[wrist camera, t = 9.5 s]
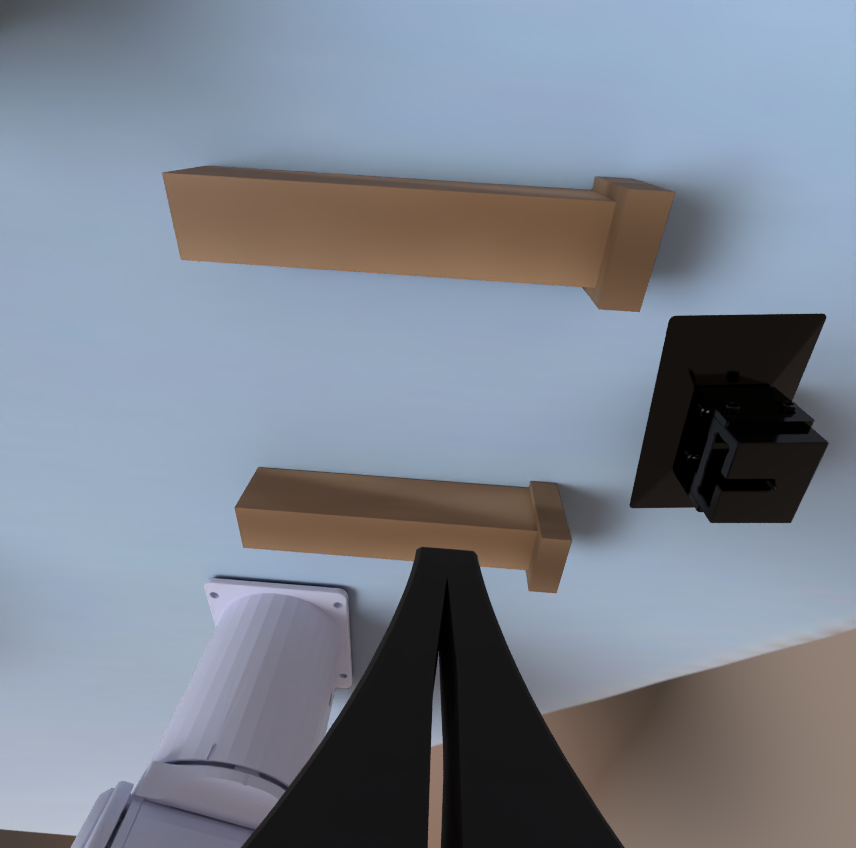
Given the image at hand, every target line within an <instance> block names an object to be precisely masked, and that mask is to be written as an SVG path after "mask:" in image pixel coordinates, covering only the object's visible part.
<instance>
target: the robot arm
mask: <svg viewBox="0 0 856 848" xmlns="http://www.w3.org/2000/svg"><path fill="white" fill-rule="evenodd" d="M204 589H205V592H206V595H207V599H208V602H209V605H210V609H211V612H212V616H213V619H214V622H215V626H216V628H215V630H214V633H213V635H212V637H211V639H210V641H209V643H208V645H207V647H206V649H205V651H204V653H203V655H202V657H201V659H200V661H199V663H198V666H197V668H196V670H195V672H194V674H193V676H192V678H191V680H190V682H189V684H188V686H187V688H186V690H185V692H184V694H183V696H182V698H181V701H180V703H179V705H178V707H177V709H176V711H175V713H174V715H173V717H172V719H171V721H170V723H169V725H168V727H167V729H166V731H165V734H164V736H163V738H162V740H161V742H160V744H159V746H158V748H157V750H156V752H155V754H154V756H153V758H152V760H151V762H150V764H149V765H148V767H147V769H146V771H145V772H144V774H143V776H142V777H141V779H140V781H139V782H138V784H137V786H136V787H135V789H134V791H133V792H132V794H130V793H131V791H132V788H133V786H134V784H132V783H129V782H126V781H121V782H119V783H118V784H117V785H116V787H115V788H111V789H109V790H107V791H106V792H104V793H102V794H101V795H100V796H99V797H98V799H97V800H96V802H95V804H94V806H93V808H92V809H91V811H90V813H89V815H88V817H87V819H86V820H85V822H84V824H83V826H82V828H81V830H80V831H79V833H78V835H77V837H76V839H75V841H74V843H73V844H72V846H71V848H428V816H429V815H428V814H429V783H430V754H431V726H432V700H433V690H434V682H435V675H436V667H437V660H438V652H439V664H440V689H441V712H442V736H443V803H442V833H441V848H624V846H623V845H622V843H621V842H620V841H619V839H618V838H617V836H616V835H615V833H614V832H613V830H612V829H611V827H610V826H609V825H608V823H607V822H606V820H605V819H604V817H603V816H602V814H601V813H600V811H599V810H598V808H597V807H596V805H595V803H594V802H593V800H592V799H591V797H590V796H589V794H588V792H587V791H586V789H585V788H584V786H583V784H582V783H581V781H580V780H579V778H578V777H577V775H576V773H575V772H574V770H573V769H572V767H571V766H570V764H569V763H568V761H567V759H566V758H565V756H564V754H563V753H562V751H561V749H560V747H559V746H558V744H557V742H556V740H555V739H554V737H553V735H552V734H551V732H550V730H549V728H548V727H547V725H546V723H545V721H544V719H543V717H542V715H541V714H540V712H539V710H538V708H537V706H536V704H535V702H534V700H533V698H532V697H531V695H530V693H529V691H528V689H527V687H526V685H525V683H524V681H523V678H522V676H521V674H520V672H519V670H518V668H517V666H516V663H515V661H514V659H513V657H512V655H511V652H510V650H509V648H508V646H507V643H506V641H505V638H504V636H503V633H502V631H501V628H500V626H499V624H498V621H497V619H496V616H495V613H494V611H493V608H492V605H491V602H490V599H489V596H488V593H487V590H486V587H485V584H484V581H483V577H482V574H481V570H480V565H479V561H478V555H477V554H476V553H475V552H474V551H469V550H457V549H444V548H432V547H420V548H418V549H417V550H416V554H415V559H414V563H413V567H412V570H411V574H410V577H409V579H408V582H407V585H406V588H405V590H404V593H403V595H402V598H401V600H400V602H399V605H398V607H397V609H396V612H395V614H394V616H393V618H392V621H391V623H390V625H389V627H388V629H387V631H386V633H385V635H384V637H383V639H382V641H381V643H380V645H379V647H378V649H377V651H376V653H375V655H374V656H373V658H372V660H371V662H370V664H369V666H368V668H367V669H366V671H365V673H364V675H363V676H362V678H361V680H360V682H359V683H358V685H357V687H356V688H355V690H354V692H353V693H352V695H351V697H350V698H349V700H348V702H347V703H346V705H345V706H344V708H343V710H342V711H341V713H340V714H339V716H338V717H337V719H336V720H335V722H334V723H333V725H332V726H331V728H330V729H329V731H328V732H327V734H326V730H327V725H328V720H329V716H330V711H331V707H332V702H333V698H334V693H335V689H336V688H343V689H347V688H350V687H351V686H352V681H353V678H352V660H351V642H350V625H349V607H348V594H347V592H346V591H345V590H343V589H340V588H329V587H317V586H304V585H292V584H280V583H267V582H255V581H242V580H230V579H218V578H211V579H208V580H207V582H206V584H205V585H204ZM325 734H326V735H325Z"/></svg>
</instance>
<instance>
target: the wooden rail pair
mask: <svg viewBox="0 0 856 848" xmlns="http://www.w3.org/2000/svg"><path fill="white" fill-rule="evenodd" d="M162 175H163V179H164V184H165V189H166V193H167V198H168V202H169V207H170V212H171V216H172V221H173V226H174V230H175V235H176V239H177V244H178V249H179V253H180V258H181V260H191V261H206V262H220V263H235V264H250V265H265V266H279V267H294V268H309V269H324V270H339V271H353V272H368V273H383V274H398V275H412V276H427V277H442V278H457V279H472V280H486V281H501V282H516V283H531V284H546V285H560V286H575V287H582V288H583V289H584V290H585V292H586V293H587V294H588V296H589V297H590V298H591V300H592V301H593V302H594V304H595V305H596V306H597V307H598V309H603V310H618V311H632V312H640V309H641V306H642V303H643V299H644V296H645V292H646V289H647V286H648V282H649V279H650V276H651V272H652V269H653V265H654V262H655V259H656V255H657V252H658V249H659V245H660V242H661V238H662V235H663V232H664V228H665V225H666V222H667V218H668V215H669V211H670V208H671V205H672V201H673V198H674V195H675V192H673V191H670V190H667V189H663V188H660V187H657V186H654V185H651V184H647V183H644V182H641V181H638V180H634V179H625V178H609V177H595V180H594V185H593V189H592V190H580V189H564V188H549V187H533V186H517V185H502V184H486V183H470V182H454V181H439V180H423V179H407V178H392V177H376V176H360V175H344V174H329V173H313V172H297V171H282V170H266V169H250V168H234V167H219V166H201V167H195V168H189V169H183V170H176V171H170V172H164V173H162ZM235 512H236V516H237V521H238V525H239V530H240V535H241V539H242V544H243V548H254V549H267V550H279V551H292V552H304V553H317V554H330V555H342V556H355V557H367V558H380V559H393V560H405V561H414V559H415V554H416V550H417V549H418V548H420V547H432V548H444V549H457V550H469V551H474V552H475V553H476V554H477V555H478V561H479V565H480V566H481V567H493V568H506V569H518V570H526V576H527V582H528V589H529V591H535V592H547V593H557V590H558V586H559V583H560V580H561V576H562V573H563V569H564V566H565V563H566V559H567V556H568V553H569V549H570V546H571V542H572V538H571V535H570V531H569V527H568V524H567V520H566V516H565V513H564V509H563V505H562V502H561V498H560V494H559V491H558V487H557V483H546V482H532V481H531V482H530V486H529V488H522V487H509V486H496V485H482V484H469V483H456V482H443V481H430V480H417V479H404V478H390V477H377V476H364V475H351V474H338V473H325V472H311V471H298V470H285V469H272V468H259V467H258V469H257V470H256V472H255V474H254V475H253V477H252V479H251V481H250V482H249V484H248V486H247V487H246V489H245V491H244V492H243V494H242V496H241V498H240V499H239V501H238V503H237V504H236V506H235Z"/></svg>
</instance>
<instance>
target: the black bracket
mask: <svg viewBox="0 0 856 848" xmlns="http://www.w3.org/2000/svg"><path fill="white" fill-rule="evenodd" d="M825 320H826V315H825V314H766V315H698V316H673V317H672V318H670V320H669V323H668V328H667V332H666V337H665V342H664V346H663V351H662V356H661V360H660V365H659V370H658V374H657V379H656V384H655V388H654V393H653V398H652V403H651V407H650V412H649V417H648V421H647V426H646V431H645V435H644V440H643V445H642V449H641V454H640V459H639V463H638V468H637V473H636V478H635V482H634V487H633V492H632V496H631V501H630V507H631V508H682V507H695V508H696V510H697V511H698V512H704V514H705V515H706V517H707V518H708V520H709V521H710V523H791V522H792V520H793V518H794V515H795V513H796V511H797V509H798V507H799V505H800V503H801V501H802V499H803V497H804V494H805V492H806V490H807V488H808V486H809V484H810V482H811V480H812V478H813V475H814V473H815V471H816V469H817V467H818V465H819V463H820V461H821V459H822V457H823V454H824V452H825V450H826V448H827V446H828V444H829V443H828V442H827V441H826V440H825V439H824V438H823V437H821V436H820V435H819V434H818V433H817V432H816V431H815V430H813V429H812V428H811V427H812V425H813V422H814V419H813V418H811V417H810V416H809V415H808V414H807V413H805V412H804V411H803V410H802V409H801V408H799V407H798V406H797V404H796V403H794V402H792V400H793V397H794V395H795V393H796V390H797V388H798V385H799V383H800V380H801V378H802V376H803V373H804V371H805V368H806V366H807V363H808V361H809V359H810V356H811V354H812V351H813V349H814V346H815V344H816V342H817V339H818V337H819V334H820V332H821V329H822V327H823V325H824V322H825Z"/></svg>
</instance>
